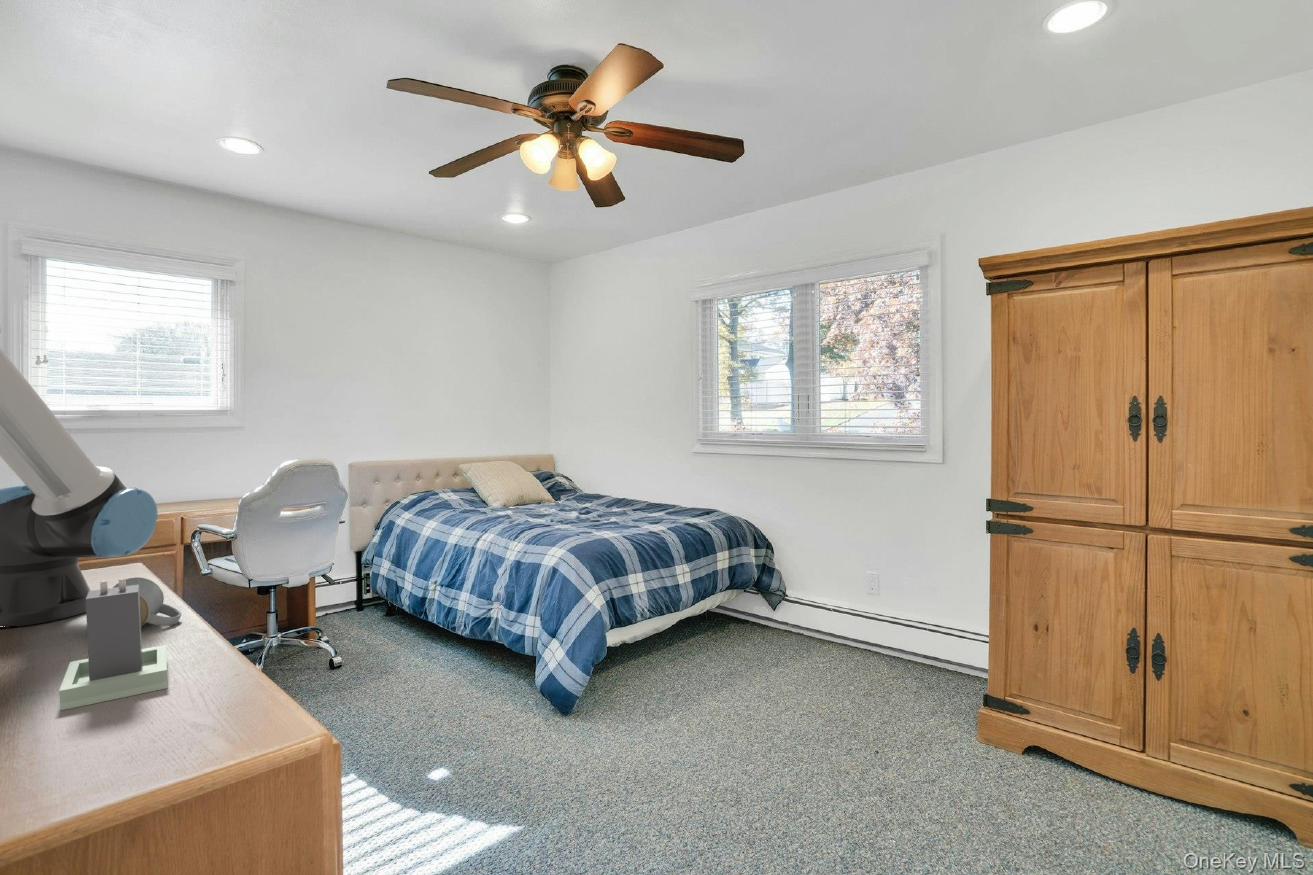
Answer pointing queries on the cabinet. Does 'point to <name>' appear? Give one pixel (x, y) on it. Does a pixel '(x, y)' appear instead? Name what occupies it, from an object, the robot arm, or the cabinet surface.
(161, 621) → the ceramic mug
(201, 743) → the cabinet surface
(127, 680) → the shallow pale green tray
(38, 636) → the cabinet surface
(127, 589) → the charger brick
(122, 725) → the cabinet surface
